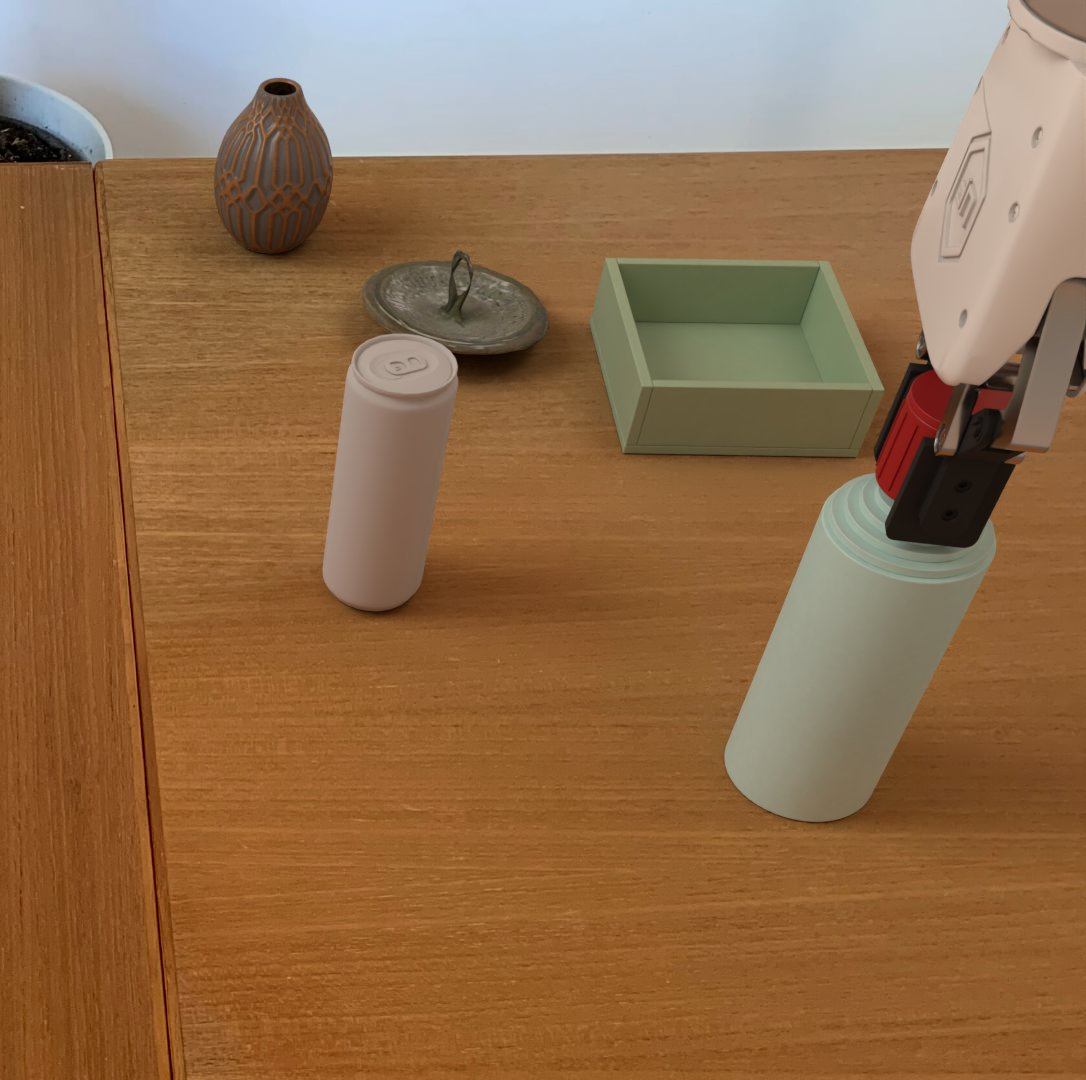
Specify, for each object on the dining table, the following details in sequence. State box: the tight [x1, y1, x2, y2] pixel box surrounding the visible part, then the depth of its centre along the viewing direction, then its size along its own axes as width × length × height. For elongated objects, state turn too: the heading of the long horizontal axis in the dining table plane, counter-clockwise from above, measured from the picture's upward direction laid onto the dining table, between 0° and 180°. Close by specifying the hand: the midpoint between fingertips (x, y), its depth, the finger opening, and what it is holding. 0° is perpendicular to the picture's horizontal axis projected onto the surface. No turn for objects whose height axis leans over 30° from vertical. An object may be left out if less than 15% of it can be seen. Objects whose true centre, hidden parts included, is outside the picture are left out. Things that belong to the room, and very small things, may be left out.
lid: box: [361, 249, 551, 355], centre depth 94 cm, size 11×10×5 cm
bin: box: [589, 257, 886, 458], centre depth 90 cm, size 12×12×4 cm
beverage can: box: [321, 333, 459, 612], centre depth 77 cm, size 5×5×12 cm
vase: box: [213, 77, 334, 254], centre depth 98 cm, size 7×7×9 cm
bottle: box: [723, 472, 997, 823], centre depth 67 cm, size 6×6×18 cm
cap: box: [874, 370, 1013, 501], centre depth 61 cm, size 4×4×4 cm
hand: (922, 497), depth 63 cm, fingers closed on cap, 3 cm apart
